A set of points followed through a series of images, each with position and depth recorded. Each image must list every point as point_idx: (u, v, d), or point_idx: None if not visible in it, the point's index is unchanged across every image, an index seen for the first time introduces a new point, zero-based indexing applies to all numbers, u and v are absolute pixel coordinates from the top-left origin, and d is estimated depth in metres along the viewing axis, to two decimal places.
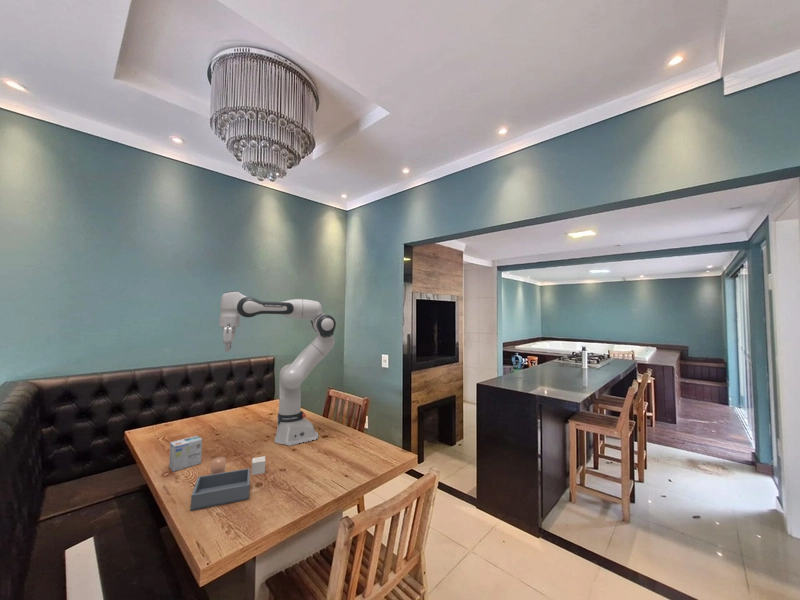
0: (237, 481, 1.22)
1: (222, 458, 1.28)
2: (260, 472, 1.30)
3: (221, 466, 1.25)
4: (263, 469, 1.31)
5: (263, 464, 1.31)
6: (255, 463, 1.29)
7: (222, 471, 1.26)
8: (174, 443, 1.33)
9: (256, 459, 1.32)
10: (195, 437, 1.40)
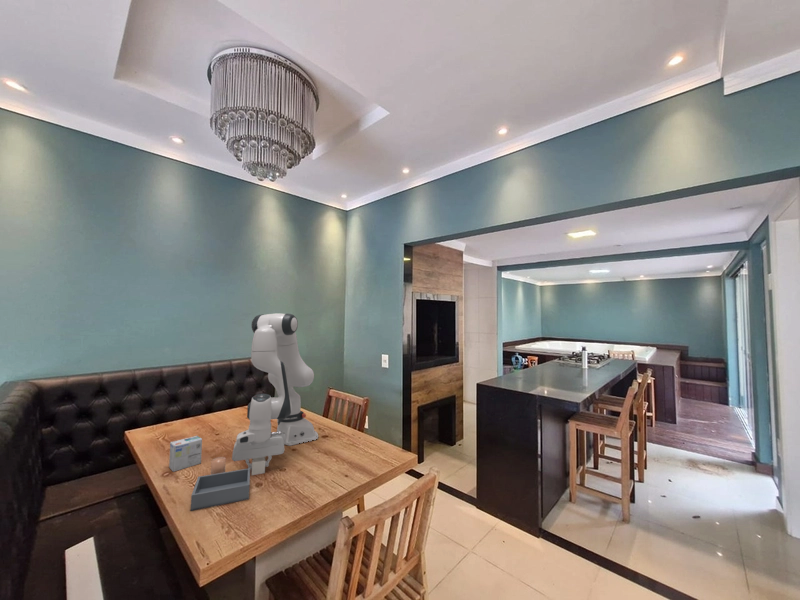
0: (237, 481, 1.22)
1: (222, 458, 1.28)
2: (260, 472, 1.30)
3: (221, 466, 1.25)
4: (263, 469, 1.31)
5: (263, 464, 1.31)
6: (255, 463, 1.29)
7: (222, 471, 1.26)
8: (174, 443, 1.33)
9: (256, 459, 1.32)
10: (195, 437, 1.40)
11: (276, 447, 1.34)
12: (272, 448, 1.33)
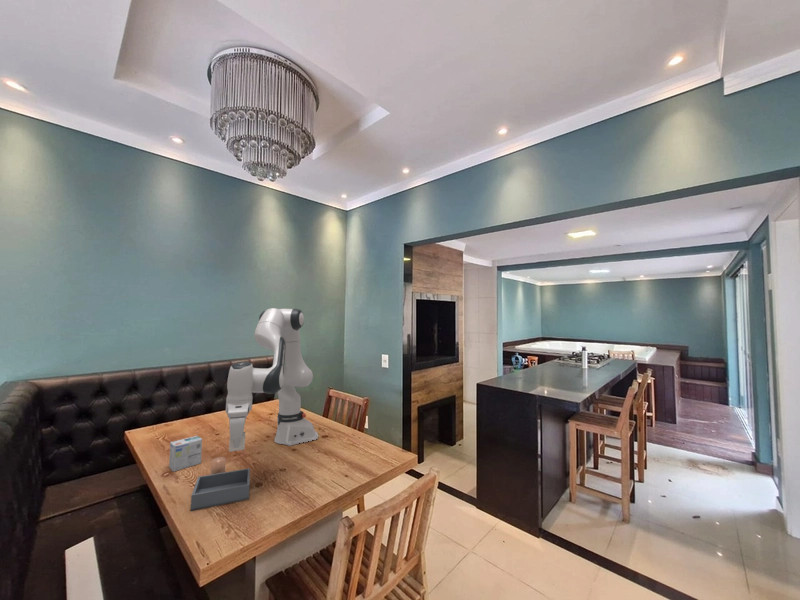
0: (237, 481, 1.22)
1: (222, 458, 1.28)
2: None
3: (221, 466, 1.25)
4: None
5: None
6: None
7: (222, 471, 1.26)
8: (174, 443, 1.33)
9: None
10: (195, 437, 1.40)
11: None
12: None
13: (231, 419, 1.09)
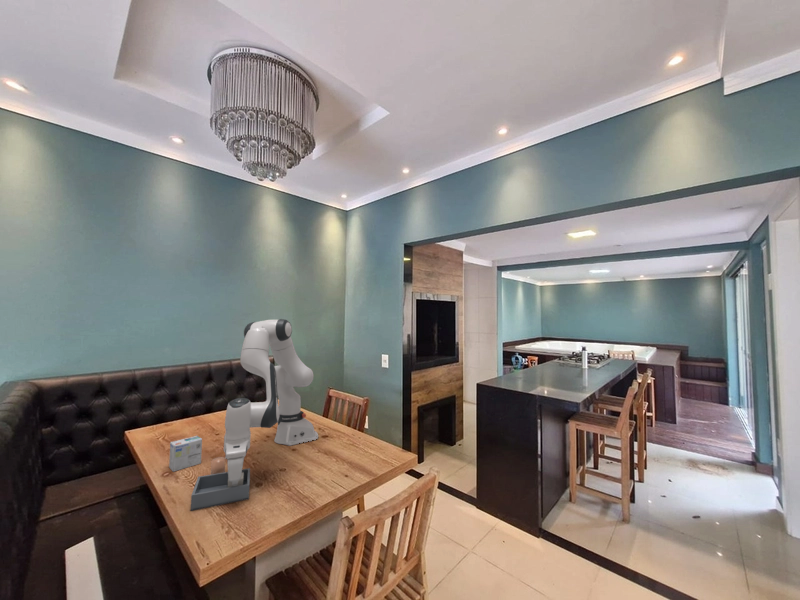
0: None
1: (222, 458, 1.28)
2: None
3: (221, 466, 1.25)
4: None
5: (243, 476, 1.19)
6: None
7: (222, 471, 1.26)
8: (174, 443, 1.33)
9: None
10: (195, 437, 1.40)
11: None
12: None
13: (229, 460, 1.08)
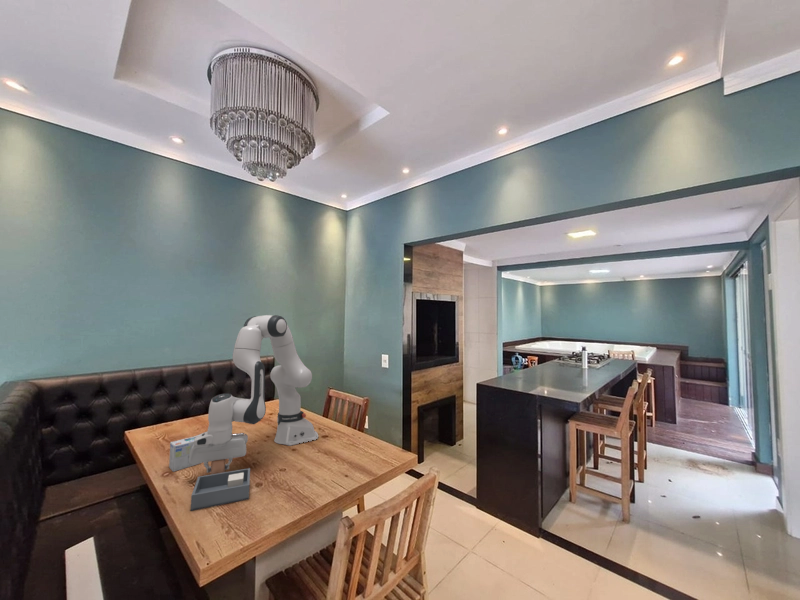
0: None
1: None
2: None
3: (221, 466, 1.25)
4: None
5: (243, 476, 1.19)
6: None
7: (222, 471, 1.26)
8: (174, 443, 1.33)
9: (234, 478, 1.15)
10: (195, 437, 1.40)
11: (237, 449, 1.28)
12: (233, 450, 1.28)
13: None
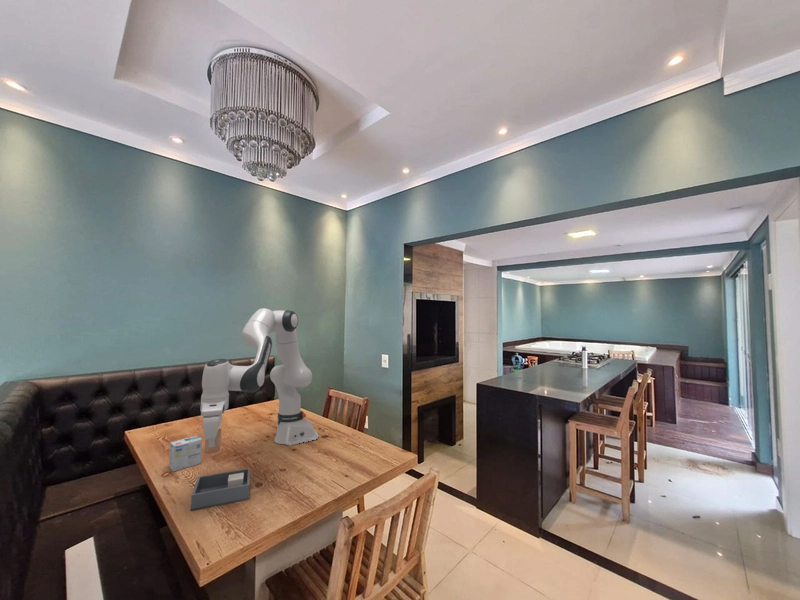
0: None
1: None
2: None
3: None
4: None
5: (243, 476, 1.19)
6: None
7: None
8: (174, 443, 1.33)
9: (234, 478, 1.15)
10: (195, 437, 1.40)
11: (221, 415, 1.21)
12: None
13: (205, 418, 1.06)
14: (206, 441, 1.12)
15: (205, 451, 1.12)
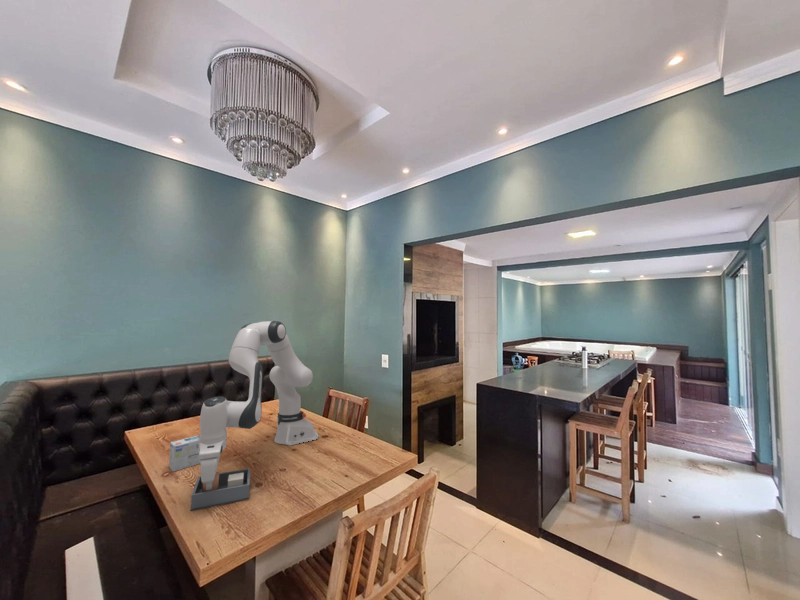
0: None
1: None
2: None
3: None
4: None
5: (243, 476, 1.19)
6: None
7: None
8: (174, 443, 1.33)
9: (234, 478, 1.15)
10: (195, 437, 1.40)
11: None
12: None
13: (202, 461, 1.05)
14: (204, 486, 1.11)
15: None
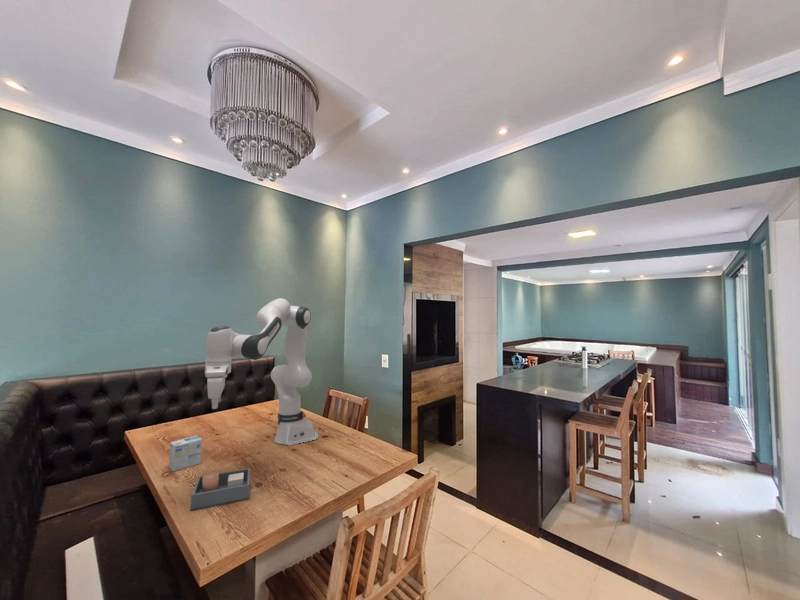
0: None
1: (209, 473, 1.14)
2: None
3: None
4: None
5: (243, 476, 1.19)
6: None
7: None
8: (174, 443, 1.33)
9: (234, 478, 1.15)
10: (195, 437, 1.40)
11: (224, 380, 1.27)
12: None
13: (209, 378, 1.12)
14: (204, 486, 1.11)
15: None
